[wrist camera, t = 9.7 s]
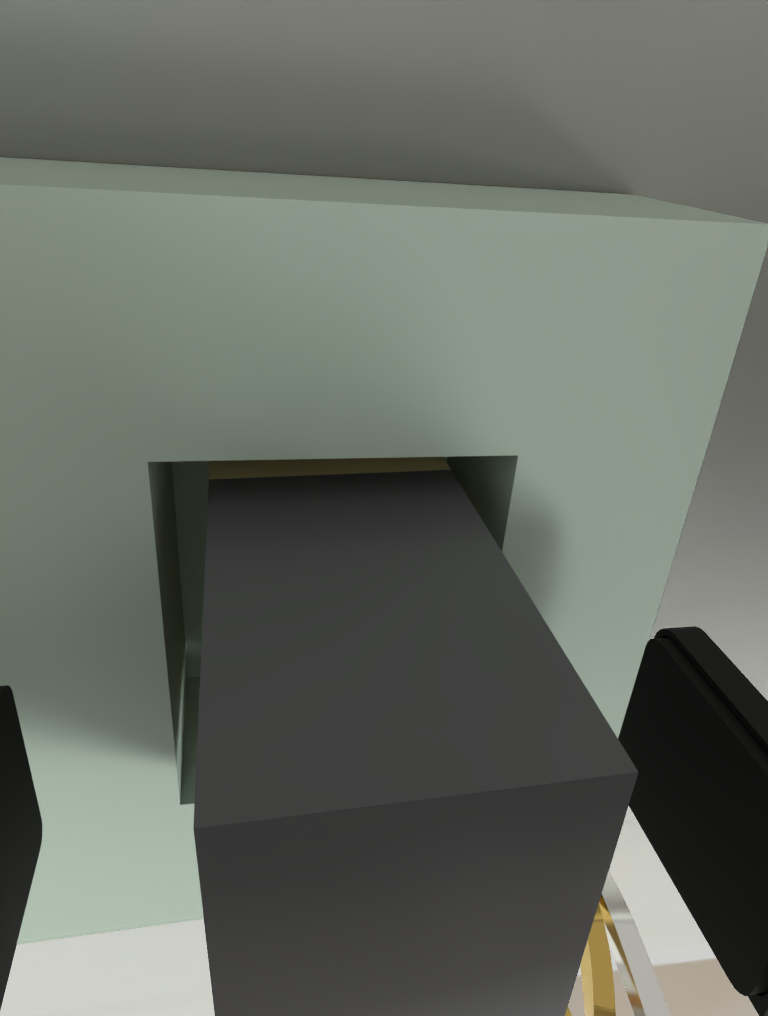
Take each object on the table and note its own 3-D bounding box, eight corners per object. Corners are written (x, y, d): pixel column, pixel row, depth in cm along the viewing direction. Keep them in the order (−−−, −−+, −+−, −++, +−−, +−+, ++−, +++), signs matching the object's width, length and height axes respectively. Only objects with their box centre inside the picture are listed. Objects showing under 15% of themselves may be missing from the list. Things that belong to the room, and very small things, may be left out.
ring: (498, 775, 21) (632, 1102, 14) (599, 767, 22) (774, 1075, 15) (459, 924, 24) (552, 1250, 17) (548, 913, 25) (672, 1222, 18)
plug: (417, 415, 14) (638, 771, 7) (401, 635, 17) (546, 1074, 9) (211, 421, 14) (193, 828, 6) (227, 650, 16) (229, 1139, 9)
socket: (636, 194, 14) (813, 233, 10) (520, 737, 20) (595, 899, 16) (-370, 135, 11) (-752, 154, 6) (-120, 800, 17) (-230, 1021, 13)
